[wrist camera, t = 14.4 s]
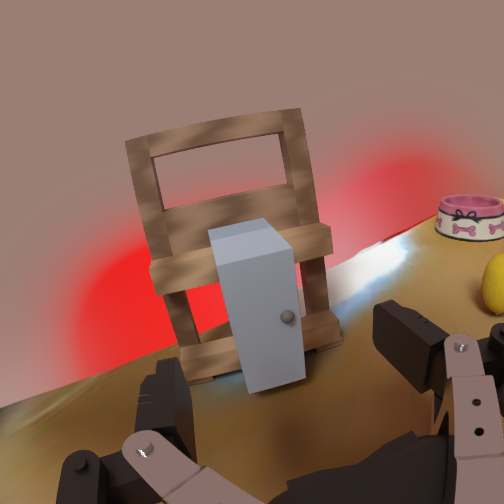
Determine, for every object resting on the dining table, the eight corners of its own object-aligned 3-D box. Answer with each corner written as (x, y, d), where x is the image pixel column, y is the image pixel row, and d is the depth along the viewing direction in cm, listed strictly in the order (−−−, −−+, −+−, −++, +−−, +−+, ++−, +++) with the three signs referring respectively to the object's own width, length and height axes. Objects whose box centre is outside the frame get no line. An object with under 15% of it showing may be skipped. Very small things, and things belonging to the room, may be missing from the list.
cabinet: (250, 399, 23) (217, 269, 19) (233, 339, 31) (207, 230, 27) (308, 382, 24) (295, 251, 19) (280, 327, 32) (263, 217, 27)
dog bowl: (511, 224, 53) (511, 195, 51) (503, 247, 43) (505, 212, 41) (448, 217, 67) (447, 191, 66) (424, 237, 58) (422, 205, 56)
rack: (185, 389, 28) (112, 140, 21) (185, 354, 34) (128, 146, 28) (344, 346, 31) (315, 102, 24) (321, 319, 37) (292, 114, 30)
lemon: (472, 306, 30) (478, 244, 28) (507, 301, 28) (514, 241, 26) (485, 330, 25) (495, 261, 23) (523, 323, 23) (535, 257, 21)
